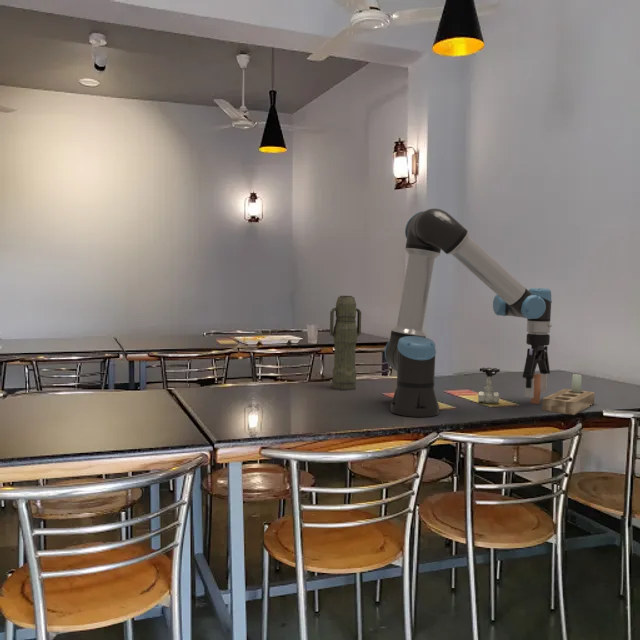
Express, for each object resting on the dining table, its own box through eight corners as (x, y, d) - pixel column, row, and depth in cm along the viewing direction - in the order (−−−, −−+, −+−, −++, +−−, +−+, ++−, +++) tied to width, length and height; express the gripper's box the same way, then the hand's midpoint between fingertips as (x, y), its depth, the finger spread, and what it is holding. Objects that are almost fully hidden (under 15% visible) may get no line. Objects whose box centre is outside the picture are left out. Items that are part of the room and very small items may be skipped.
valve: (499, 406, 213) (500, 370, 212) (478, 405, 215) (480, 369, 214) (497, 402, 220) (499, 367, 219) (478, 401, 221) (479, 367, 220)
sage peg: (570, 403, 220) (571, 374, 219) (572, 402, 222) (573, 373, 222) (579, 404, 218) (580, 375, 217) (581, 403, 220) (582, 374, 220)
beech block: (542, 410, 207) (542, 398, 207) (564, 399, 226) (564, 388, 226) (574, 414, 201) (574, 402, 201) (594, 403, 220) (594, 392, 220)
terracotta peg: (529, 403, 219) (530, 374, 219) (532, 401, 222) (533, 373, 221) (538, 404, 217) (539, 375, 217) (541, 402, 220) (542, 374, 219)
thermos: (363, 389, 239) (365, 296, 237) (334, 391, 235) (336, 296, 232) (353, 385, 247) (355, 295, 245) (325, 387, 243) (327, 295, 240)
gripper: (537, 336, 206) (534, 401, 207) (560, 331, 226) (557, 391, 227) (514, 334, 210) (511, 398, 212) (539, 330, 230) (536, 388, 232)
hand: (535, 394), depth 219 cm, fingers open, 13 cm apart
